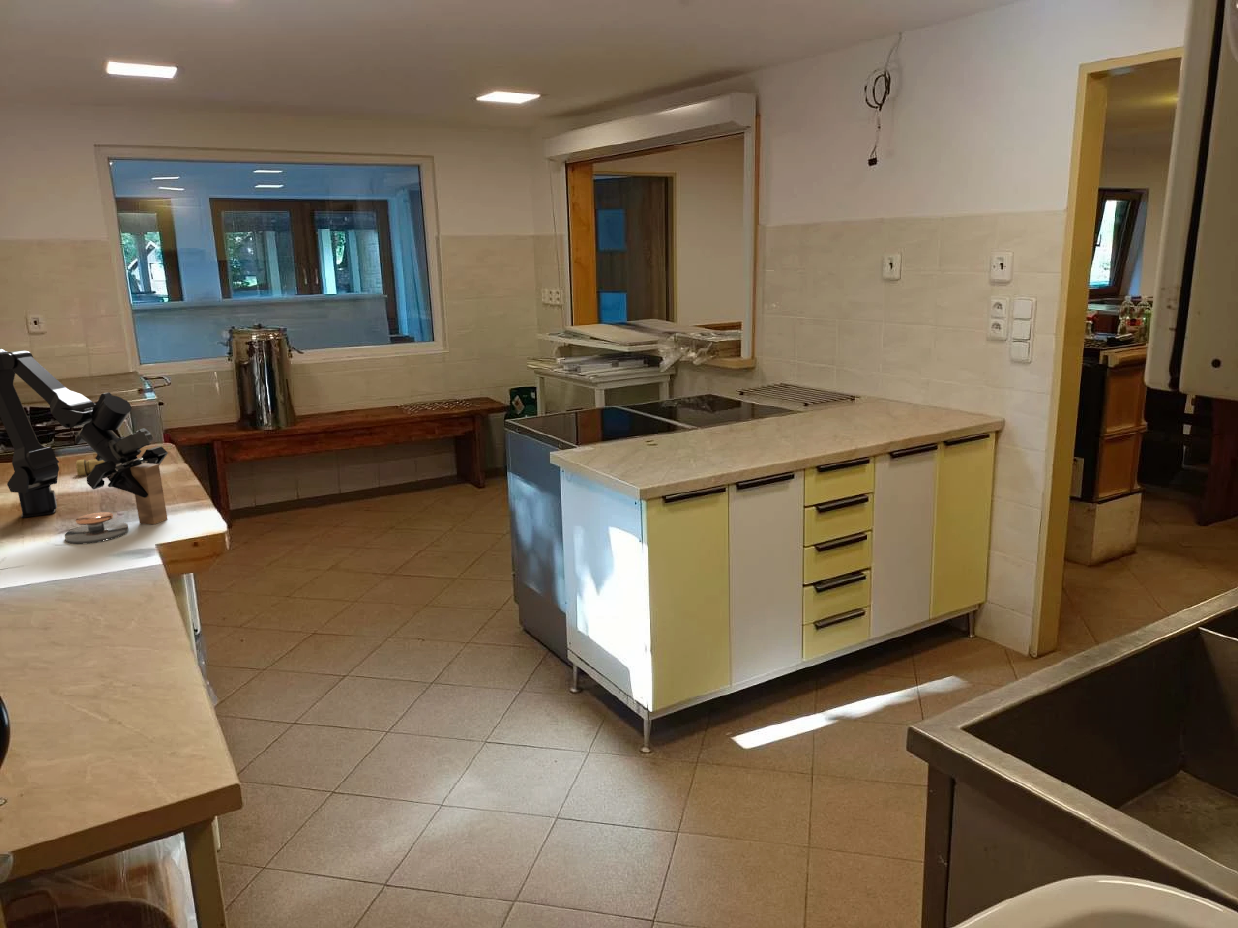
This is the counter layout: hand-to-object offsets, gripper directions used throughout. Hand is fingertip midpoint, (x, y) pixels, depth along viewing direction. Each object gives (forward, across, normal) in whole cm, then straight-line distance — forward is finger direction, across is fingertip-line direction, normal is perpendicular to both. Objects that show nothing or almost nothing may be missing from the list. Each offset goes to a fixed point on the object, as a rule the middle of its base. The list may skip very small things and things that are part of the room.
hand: (154, 493), depth 199 cm
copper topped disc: (0, -10, +9) cm, 14 cm away
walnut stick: (+4, 0, +6) cm, 7 cm away
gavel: (-36, +41, +46) cm, 71 cm away
